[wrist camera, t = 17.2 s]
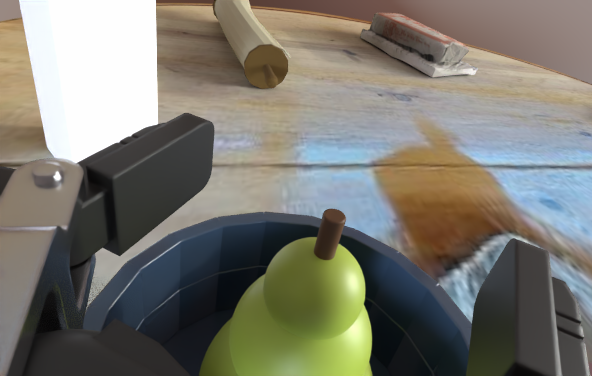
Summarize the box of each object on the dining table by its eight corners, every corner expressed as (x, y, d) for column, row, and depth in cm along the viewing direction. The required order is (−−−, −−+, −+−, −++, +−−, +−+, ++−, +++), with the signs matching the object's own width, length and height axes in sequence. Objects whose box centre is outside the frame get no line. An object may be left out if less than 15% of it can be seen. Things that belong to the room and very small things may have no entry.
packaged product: (364, 8, 70) (407, 10, 75) (357, 38, 73) (399, 38, 78) (444, 46, 59) (488, 45, 64) (431, 79, 61) (475, 76, 66)
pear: (357, 386, 20) (451, 185, 13) (334, 555, 15) (470, 360, 8) (229, 343, 20) (257, 131, 14) (163, 489, 15) (157, 260, 9)
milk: (46, 149, 32) (-37, -266, 19) (125, 132, 36) (98, -224, 23) (78, 190, 29) (3, -277, 16) (161, 167, 32) (152, -226, 20)
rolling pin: (208, 15, 69) (210, -18, 66) (242, 19, 70) (245, -14, 68) (245, 102, 44) (250, 55, 41) (296, 104, 46) (304, 59, 43)
